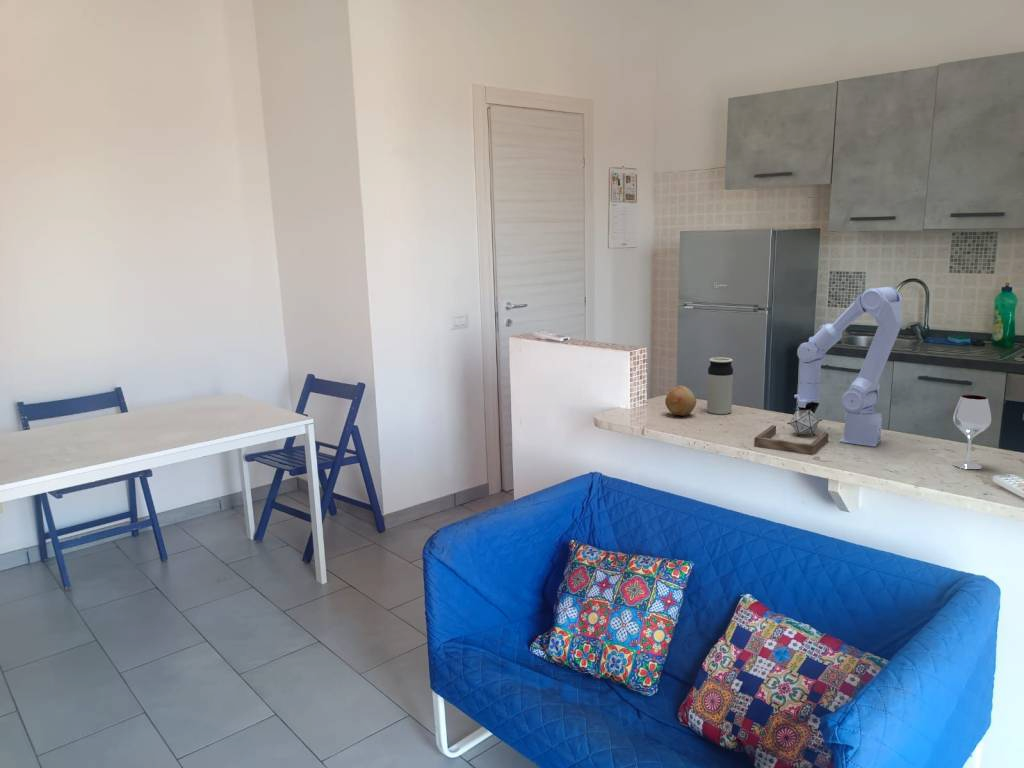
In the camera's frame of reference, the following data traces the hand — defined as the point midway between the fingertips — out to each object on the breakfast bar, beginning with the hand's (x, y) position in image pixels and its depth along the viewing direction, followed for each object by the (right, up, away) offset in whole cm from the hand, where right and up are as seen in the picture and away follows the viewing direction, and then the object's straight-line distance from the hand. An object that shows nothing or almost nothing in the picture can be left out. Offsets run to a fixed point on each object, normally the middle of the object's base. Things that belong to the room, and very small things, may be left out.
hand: (806, 426), depth 228 cm
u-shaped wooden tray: (-9, -4, -13) cm, 16 cm away
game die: (-2, -3, -4) cm, 5 cm away
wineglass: (+27, -8, -36) cm, 45 cm away
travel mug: (-19, +3, +26) cm, 32 cm away
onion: (-33, +2, +22) cm, 40 cm away
